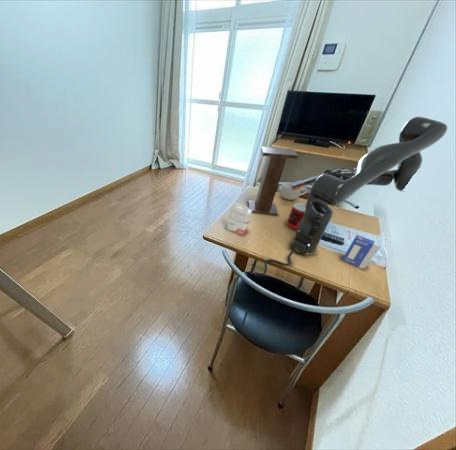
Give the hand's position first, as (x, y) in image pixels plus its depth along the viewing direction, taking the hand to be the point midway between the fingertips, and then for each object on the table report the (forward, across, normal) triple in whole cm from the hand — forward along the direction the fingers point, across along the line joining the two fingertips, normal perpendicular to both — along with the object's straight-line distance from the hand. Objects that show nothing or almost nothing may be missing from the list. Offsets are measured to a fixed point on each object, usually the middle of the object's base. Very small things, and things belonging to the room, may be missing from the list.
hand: (325, 173), depth 122 cm
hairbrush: (+4, 0, +5) cm, 7 cm away
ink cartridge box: (+39, +29, +22) cm, 53 cm away
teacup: (+7, -13, +22) cm, 27 cm away
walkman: (-6, +41, +22) cm, 47 cm away
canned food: (+11, +18, +22) cm, 31 cm away
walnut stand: (+25, +4, +22) cm, 33 cm away
